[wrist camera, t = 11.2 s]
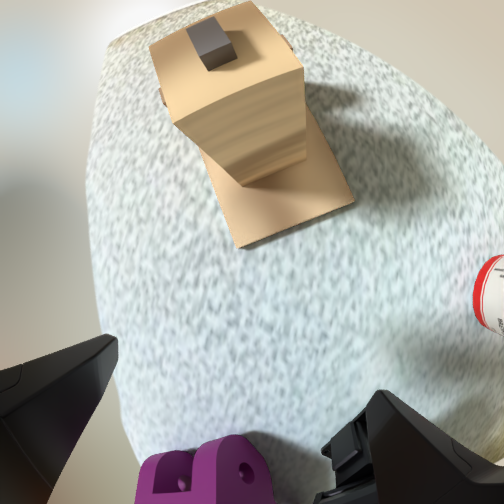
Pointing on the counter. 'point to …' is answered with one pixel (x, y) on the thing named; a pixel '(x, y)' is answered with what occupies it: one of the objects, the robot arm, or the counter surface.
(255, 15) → the cabinet block
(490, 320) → the beer can
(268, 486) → the mounting bracket
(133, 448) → the counter surface
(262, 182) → the cleat board
